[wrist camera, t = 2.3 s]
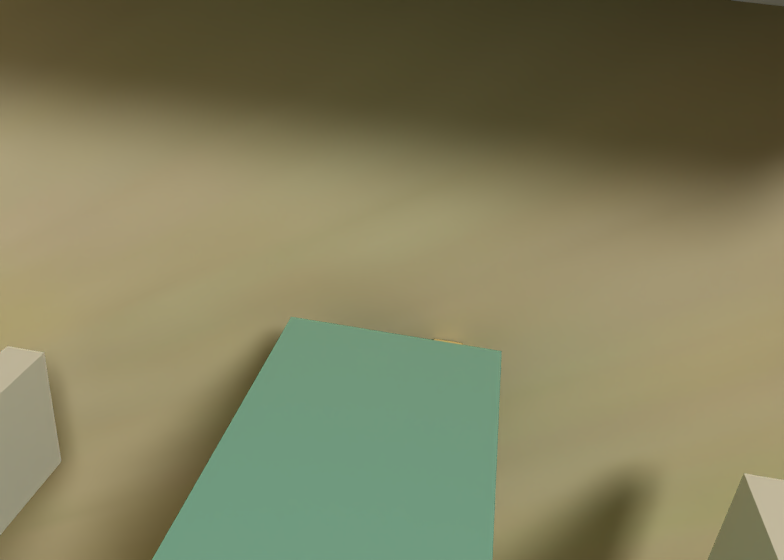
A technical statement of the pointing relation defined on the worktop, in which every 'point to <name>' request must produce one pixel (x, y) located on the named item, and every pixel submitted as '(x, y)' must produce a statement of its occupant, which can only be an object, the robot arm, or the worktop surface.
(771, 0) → the socket
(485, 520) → the plug
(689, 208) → the worktop surface
